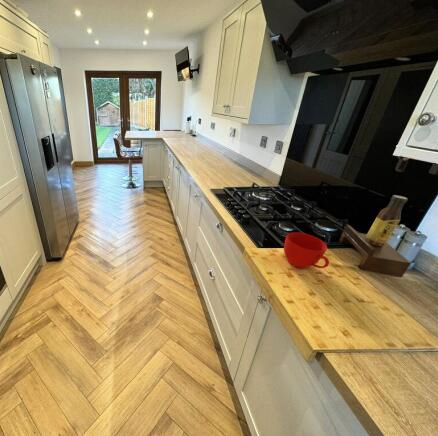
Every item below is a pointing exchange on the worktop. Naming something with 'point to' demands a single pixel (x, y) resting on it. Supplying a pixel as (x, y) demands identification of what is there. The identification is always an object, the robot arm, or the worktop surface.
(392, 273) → the brown wooden stand
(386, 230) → the sauce bottle
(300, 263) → the ceramic cup
